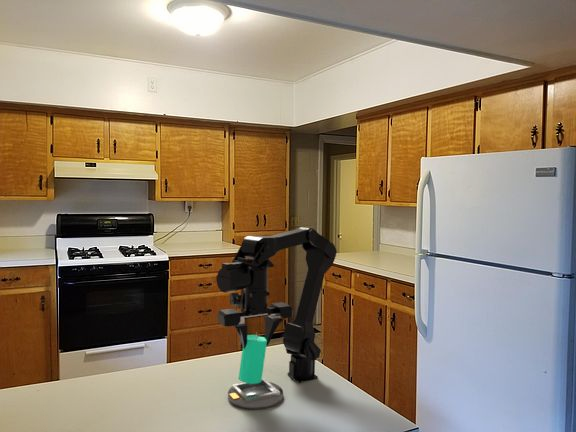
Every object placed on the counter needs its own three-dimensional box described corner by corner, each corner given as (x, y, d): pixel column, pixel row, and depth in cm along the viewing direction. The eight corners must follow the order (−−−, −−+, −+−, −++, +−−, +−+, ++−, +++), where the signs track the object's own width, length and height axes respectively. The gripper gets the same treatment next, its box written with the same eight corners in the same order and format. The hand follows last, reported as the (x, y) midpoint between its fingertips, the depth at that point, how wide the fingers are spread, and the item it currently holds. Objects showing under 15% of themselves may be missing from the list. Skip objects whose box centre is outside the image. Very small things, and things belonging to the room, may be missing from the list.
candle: (257, 385, 109) (264, 337, 109) (234, 380, 110) (241, 332, 110) (264, 377, 115) (271, 331, 115) (243, 372, 116) (249, 327, 116)
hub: (267, 381, 123) (267, 373, 123) (292, 402, 111) (293, 393, 110) (219, 391, 116) (219, 383, 116) (241, 415, 104) (241, 406, 104)
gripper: (274, 277, 123) (274, 332, 124) (210, 283, 114) (209, 343, 115) (294, 285, 114) (293, 345, 114) (225, 292, 105) (225, 357, 106)
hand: (255, 347), depth 113 cm, fingers closed on candle, 6 cm apart
